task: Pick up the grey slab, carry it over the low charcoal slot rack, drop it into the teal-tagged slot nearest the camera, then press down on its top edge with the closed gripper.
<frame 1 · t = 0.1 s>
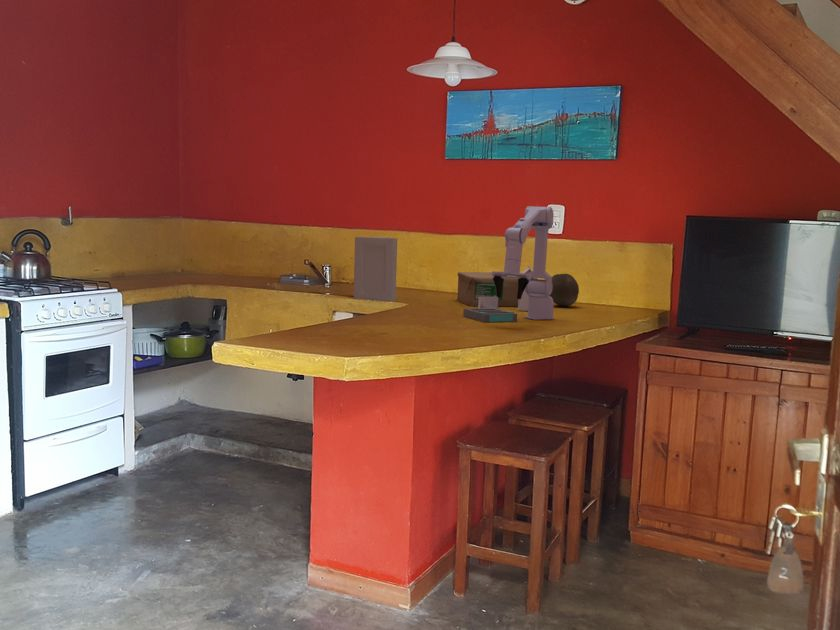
hand: (508, 298, 292), 11 cm above the worktop, tool pointing down, fingers open, 7 cm apart
milk carton: (526, 310, 348), on the worktop
grey slab: (487, 313, 332), on the worktop
slot rack: (489, 318, 315), on the worktop
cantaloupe: (561, 307, 367), on the worktop
grooved grey upright panel: (378, 298, 376), on the worktop
paper package: (491, 304, 369), on the worktop
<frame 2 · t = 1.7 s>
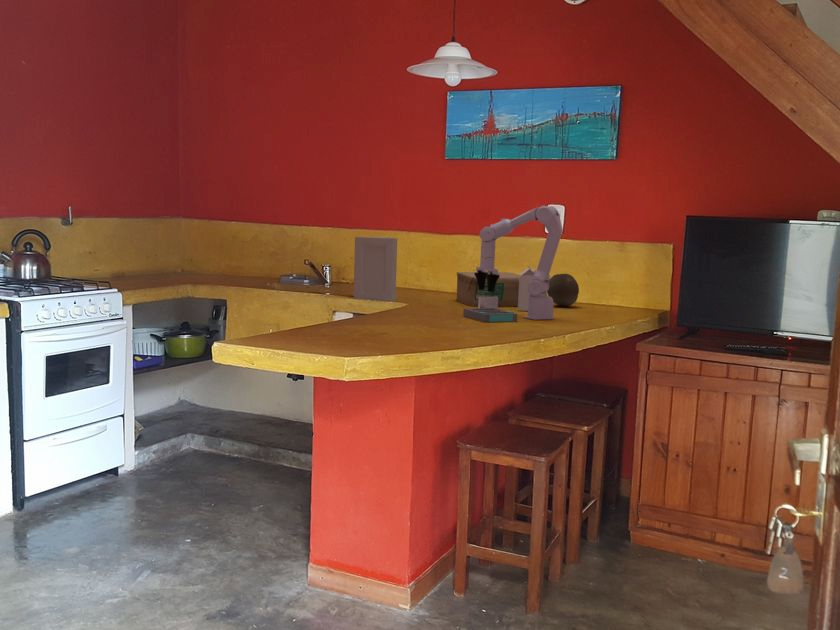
hand: (485, 290, 329), 9 cm above the worktop, tool pointing down, fingers open, 7 cm apart
nothing on the worktop moved.
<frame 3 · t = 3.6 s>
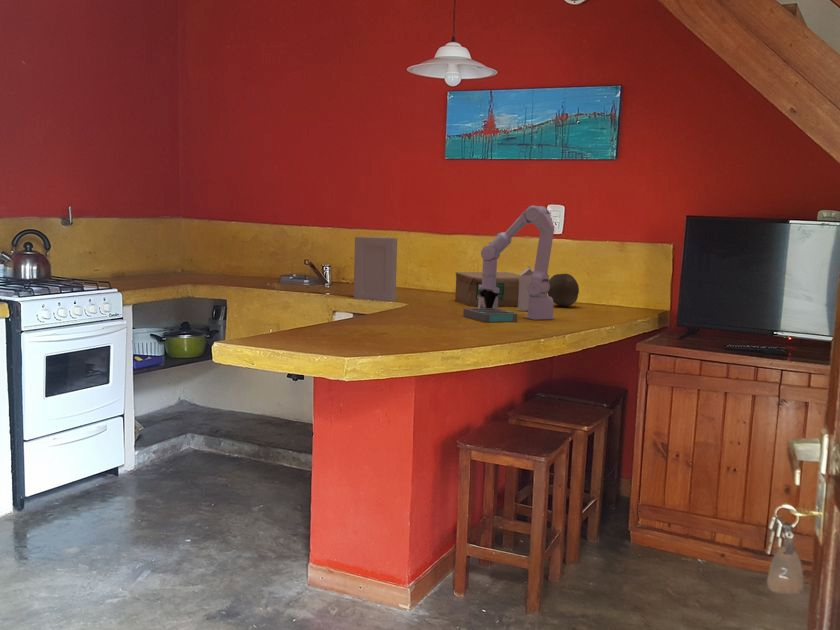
hand: (487, 309, 332), 2 cm above the worktop, tool pointing down, fingers closed on grey slab, 2 cm apart
grey slab: (487, 313, 332), on the worktop, touching gripper
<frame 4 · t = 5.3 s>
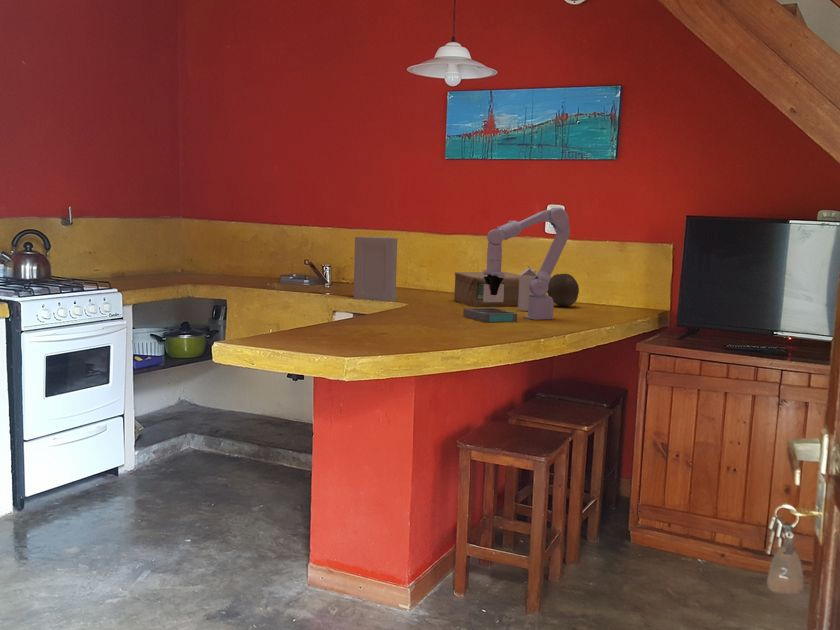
hand: (492, 294, 320), 9 cm above the worktop, tool pointing down, fingers closed on grey slab
grey slab: (493, 301, 321), point 6 cm above the worktop, touching gripper
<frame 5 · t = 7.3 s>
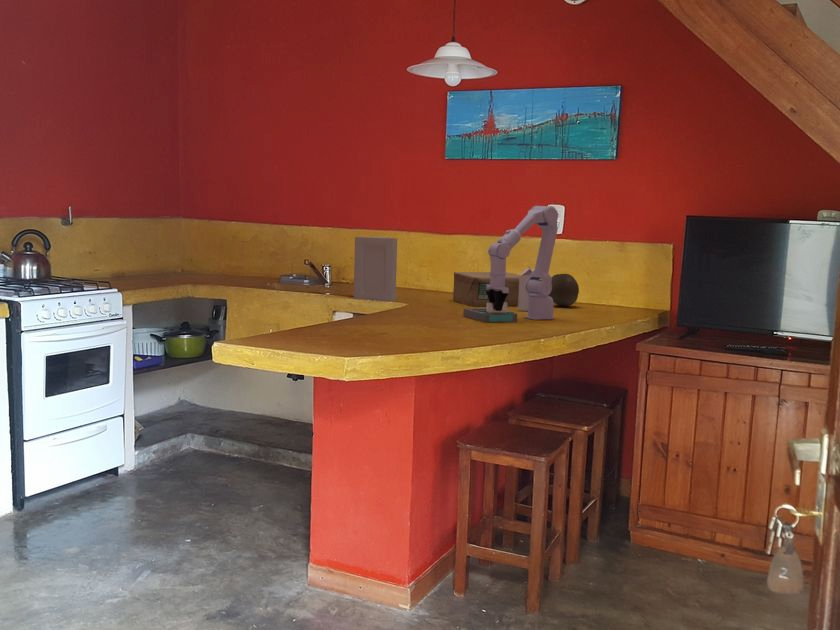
hand: (496, 310, 310), 4 cm above the worktop, tool pointing down, fingers open, 3 cm apart
grey slab: (496, 320, 311), resting in slot rack
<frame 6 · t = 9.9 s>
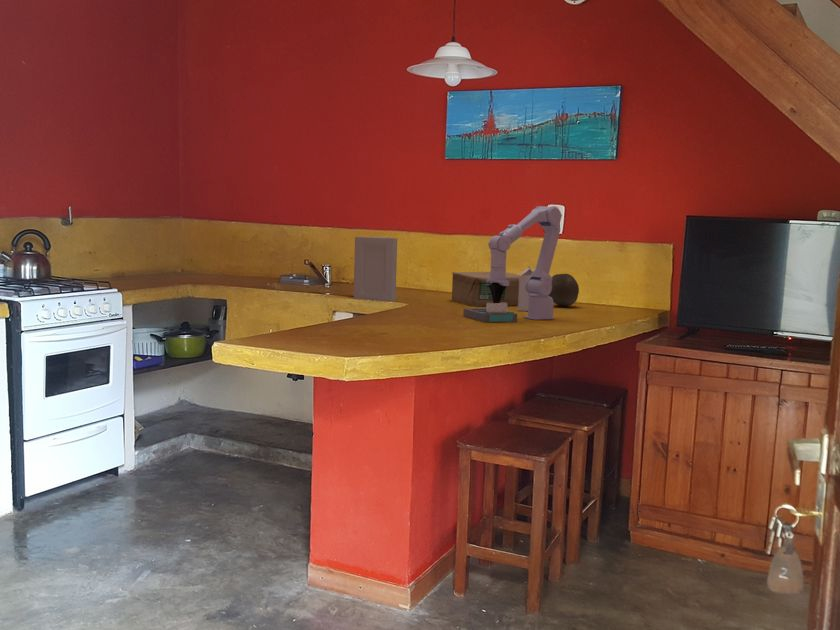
hand: (496, 303, 310), 7 cm above the worktop, tool pointing down, fingers closed, pressing on grey slab
grey slab: (496, 321, 311), resting in slot rack, touching gripper
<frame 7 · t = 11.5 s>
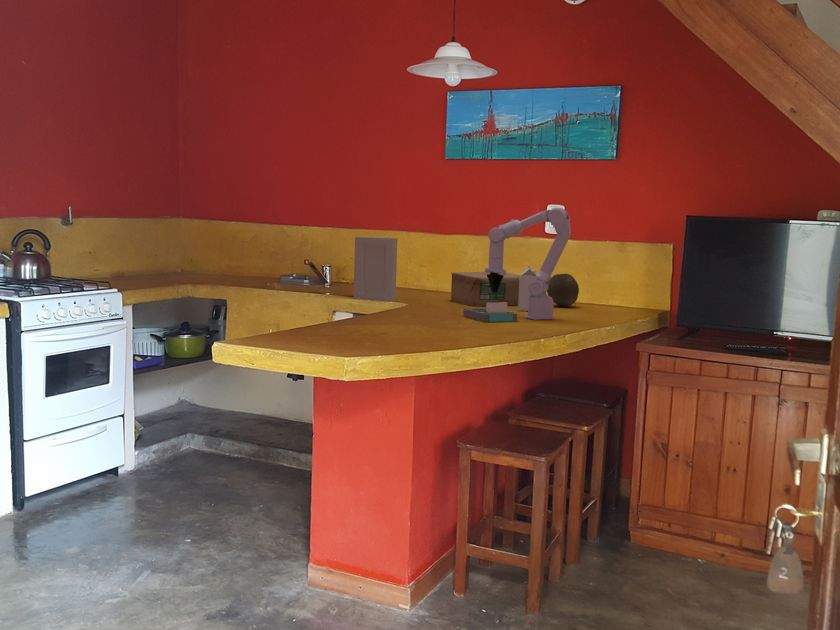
hand: (494, 291, 326), 9 cm above the worktop, tool pointing down, fingers closed
grey slab: (496, 320, 311), resting in slot rack
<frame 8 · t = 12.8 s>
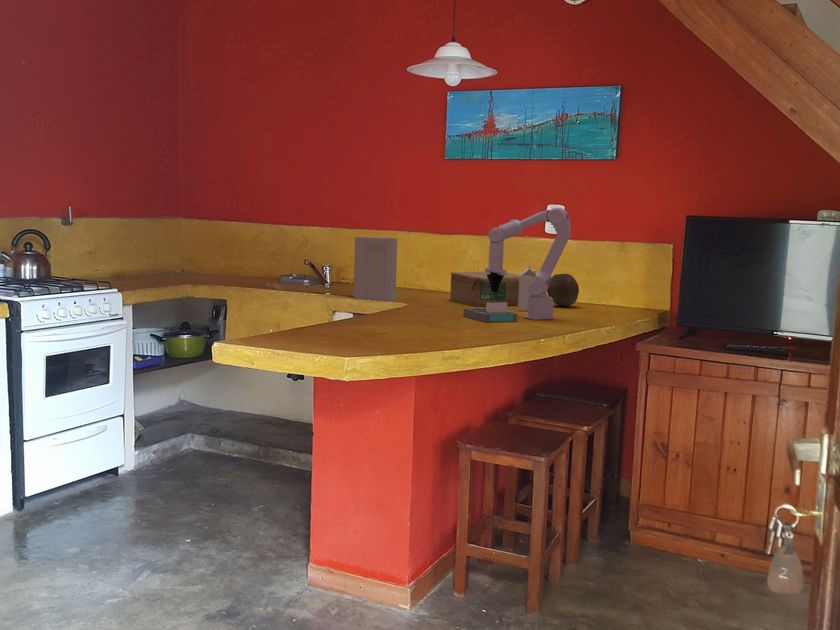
hand: (494, 291, 326), 9 cm above the worktop, tool pointing down, fingers closed
at the end: grey slab 0.2 cm from the target spot on the slot rack, point 0.0 cm above the slot rack's base; grey slab tilted 0°; the gripper is holding nothing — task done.
